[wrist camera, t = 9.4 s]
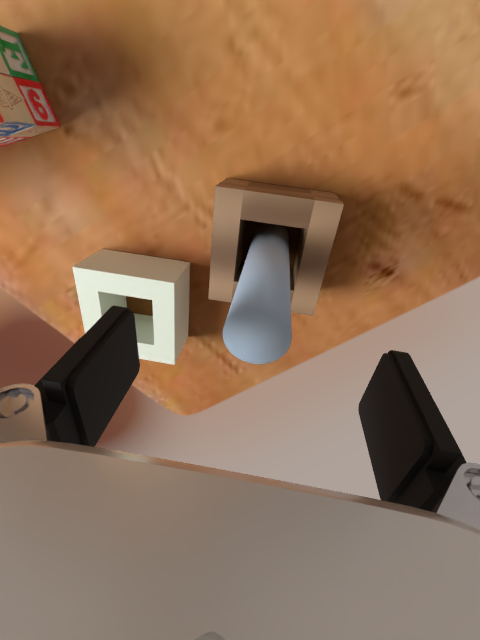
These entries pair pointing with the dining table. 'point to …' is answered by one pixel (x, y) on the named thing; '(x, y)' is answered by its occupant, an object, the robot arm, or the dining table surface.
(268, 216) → the brown wooden square ring
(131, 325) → the robot arm
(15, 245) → the dining table surface
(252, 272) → the light blue rod
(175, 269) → the white square hollow block
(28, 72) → the stack of blocks
